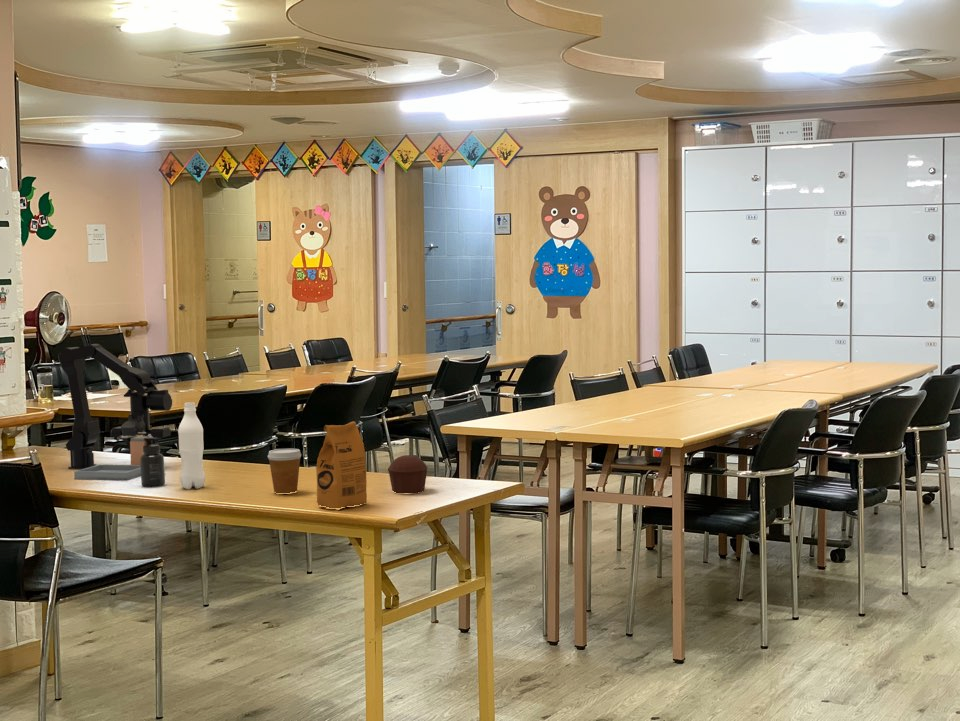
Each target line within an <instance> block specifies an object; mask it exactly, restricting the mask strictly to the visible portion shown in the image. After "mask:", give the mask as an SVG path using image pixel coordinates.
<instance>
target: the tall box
mask: <svg viewBox="0 0 960 721" xmlns="http://www.w3.org/2000/svg"><path fill="white" fill-rule="evenodd" d="M136 436H137V437H133V438H131V441H130V450H129V452H130V465H140V458H141V456H142V455H143V454H144V452H143V446H145V445H147V442H146V440H145V439H146V438H149V435H136Z"/></svg>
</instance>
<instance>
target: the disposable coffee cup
mask: <svg viewBox="0 0 960 721" xmlns="http://www.w3.org/2000/svg"><path fill="white" fill-rule="evenodd" d="M301 457H302V453H301V450H300V449H299V448H276V449H272V450H269V451H268V455H267V459H268V460H269V462H268V463H269V467H270V474H271V481H272V486H273V493H274V492H276V493H290V492H295V491H297V492H298V486H299V475H300V474H299V473H300V464H301V463H300V461H301Z"/></svg>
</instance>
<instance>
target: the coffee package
mask: <svg viewBox="0 0 960 721" xmlns="http://www.w3.org/2000/svg"><path fill="white" fill-rule="evenodd" d="M323 431H324V432H326V436H325V438H324V440H323V445H322V447H321V449H320V451H319V453H318V457H317V460H316V467H315V470H316V471H315V472H316V503H317V505H318V506H319V505H321V506H326V507H329V508H341V507H347V506H354V505H360V504H363V505H365V504H364V503H366V504H367V501H368V499H367V498H368V494H367V465H366V464H367V462H366V460H367V459H366V451H365V444H364V442H363V439H362V436H361V434H360V430H359V428H358V426H357V423H356V421H350V422H348V423H347V424H343V425H341V424H339V425H336V424H335V425H334V424H330V425H328V424H325V425H324V427H323Z"/></svg>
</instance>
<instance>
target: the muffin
mask: <svg viewBox="0 0 960 721" xmlns="http://www.w3.org/2000/svg"><path fill="white" fill-rule="evenodd" d="M428 468H429V467H428V466H427V464H426V463H425V462H424V460H422V459H421V458H420V457H418V456H416V455H411V454H404V455H400V456H397V457H396V458H395V459H394V460H392V462H391V464H390V465H389V466H388V468H387V472H388V474H389V480H390V486H391V491H394V492H396V493H416V494H419V493H418V492H421V493H423V492H425V487H426V481H427V472H428ZM422 491H423V492H422ZM394 492H393V493H394ZM396 493H395V494H396Z"/></svg>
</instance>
